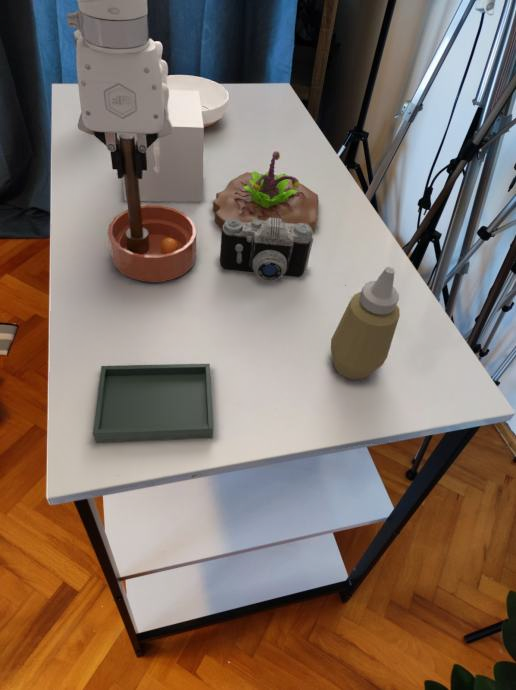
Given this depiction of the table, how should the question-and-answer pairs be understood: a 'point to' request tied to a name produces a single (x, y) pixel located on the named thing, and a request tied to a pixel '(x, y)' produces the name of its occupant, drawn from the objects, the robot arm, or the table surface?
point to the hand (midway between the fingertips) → (130, 172)
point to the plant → (266, 199)
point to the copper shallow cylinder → (155, 244)
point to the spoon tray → (153, 402)
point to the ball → (168, 246)
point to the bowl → (203, 95)
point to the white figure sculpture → (175, 149)
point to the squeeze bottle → (366, 328)
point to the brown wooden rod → (133, 198)
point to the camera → (266, 247)
